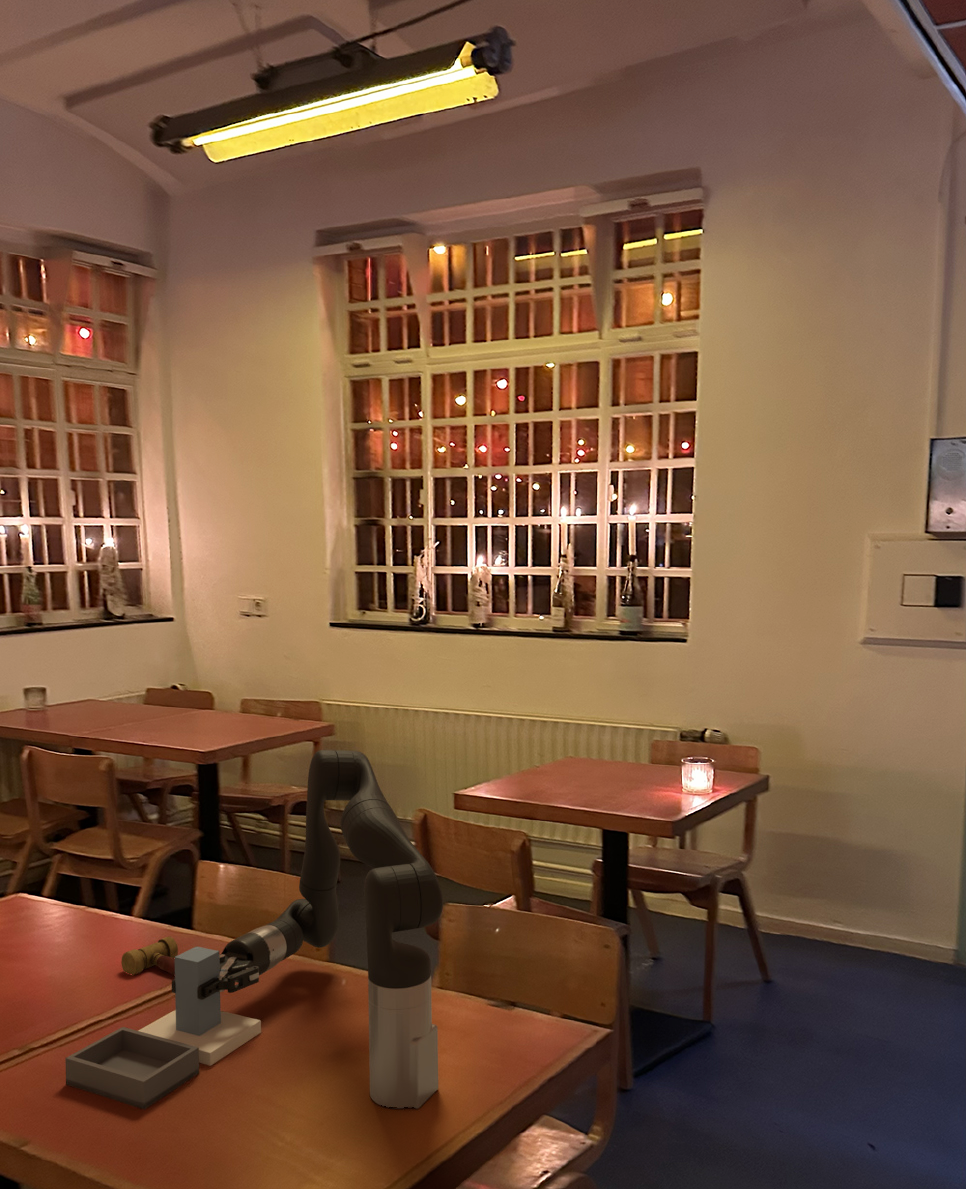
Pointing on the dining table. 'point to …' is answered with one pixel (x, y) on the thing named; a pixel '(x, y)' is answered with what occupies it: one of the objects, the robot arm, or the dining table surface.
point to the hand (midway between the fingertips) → (186, 990)
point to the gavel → (152, 957)
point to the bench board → (209, 1035)
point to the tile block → (188, 977)
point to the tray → (132, 1067)
